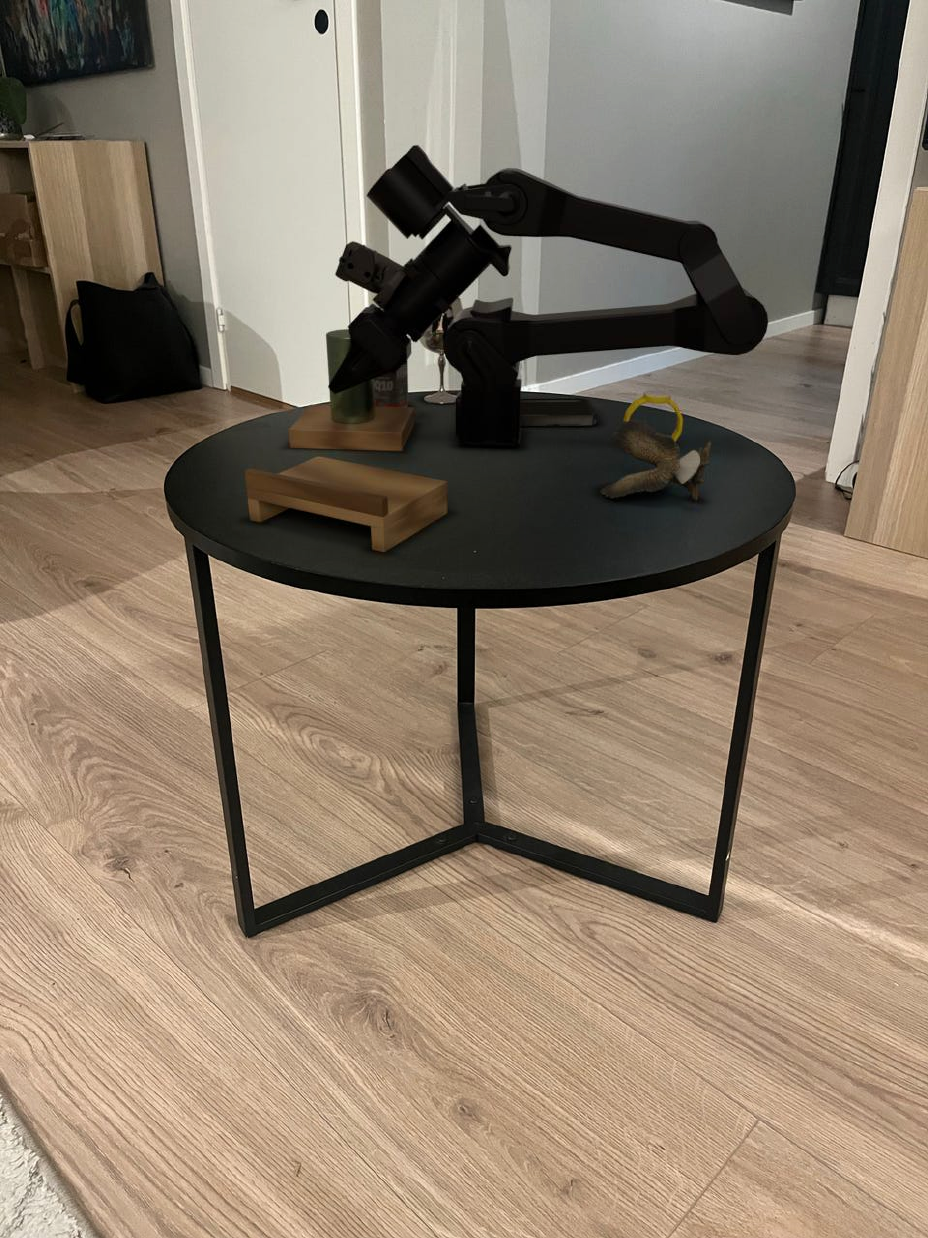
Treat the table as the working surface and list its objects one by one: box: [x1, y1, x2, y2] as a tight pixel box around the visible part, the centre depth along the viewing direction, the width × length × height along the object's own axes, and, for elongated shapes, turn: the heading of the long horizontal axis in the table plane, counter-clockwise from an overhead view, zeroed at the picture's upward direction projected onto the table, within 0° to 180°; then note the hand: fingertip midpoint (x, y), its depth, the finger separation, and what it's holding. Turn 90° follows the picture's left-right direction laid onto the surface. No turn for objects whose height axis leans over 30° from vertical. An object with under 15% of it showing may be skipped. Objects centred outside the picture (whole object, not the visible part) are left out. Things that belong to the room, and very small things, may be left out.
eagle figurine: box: [599, 419, 712, 502], centre depth 87 cm, size 8×7×9 cm
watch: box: [622, 390, 684, 443], centre depth 99 cm, size 6×3×6 cm, turn 89°
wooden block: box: [288, 404, 415, 452], centre depth 104 cm, size 12×10×2 cm
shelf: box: [244, 455, 448, 553], centre depth 82 cm, size 10×14×4 cm
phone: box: [520, 397, 598, 427], centre depth 111 cm, size 8×1×15 cm
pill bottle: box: [374, 360, 409, 407], centre depth 113 cm, size 5×5×8 cm
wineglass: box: [418, 296, 464, 405], centre depth 116 cm, size 6×6×12 cm
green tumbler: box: [325, 328, 375, 424], centre depth 102 cm, size 5×5×9 cm
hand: (338, 381), depth 102 cm, fingers open, 7 cm apart
